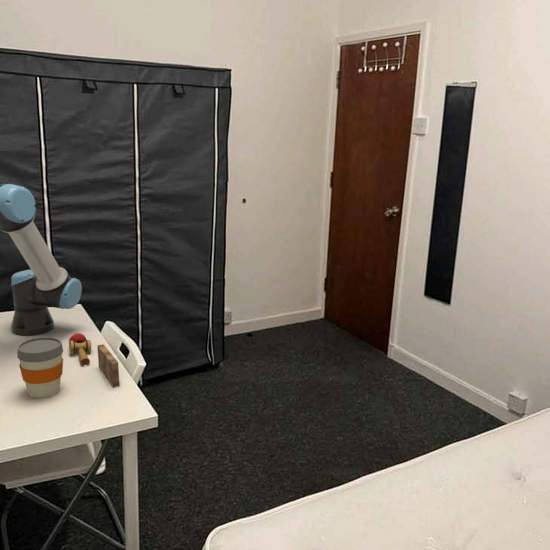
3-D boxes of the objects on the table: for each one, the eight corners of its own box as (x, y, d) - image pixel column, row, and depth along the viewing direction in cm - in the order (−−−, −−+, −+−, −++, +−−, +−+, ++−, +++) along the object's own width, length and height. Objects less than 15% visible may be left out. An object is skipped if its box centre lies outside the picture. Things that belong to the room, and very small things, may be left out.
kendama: (99, 366, 186) (89, 341, 200) (95, 351, 183) (85, 326, 197) (76, 374, 183) (67, 348, 197) (71, 359, 180) (63, 333, 194)
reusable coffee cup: (18, 403, 158) (13, 355, 154) (24, 383, 170) (19, 338, 166) (64, 398, 162) (60, 351, 158) (67, 379, 173) (64, 335, 169)
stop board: (98, 367, 182) (97, 345, 180) (104, 366, 183) (103, 344, 181) (113, 387, 169) (111, 363, 167) (119, 385, 170) (118, 362, 168)
